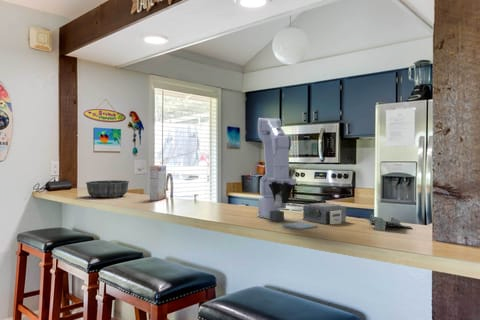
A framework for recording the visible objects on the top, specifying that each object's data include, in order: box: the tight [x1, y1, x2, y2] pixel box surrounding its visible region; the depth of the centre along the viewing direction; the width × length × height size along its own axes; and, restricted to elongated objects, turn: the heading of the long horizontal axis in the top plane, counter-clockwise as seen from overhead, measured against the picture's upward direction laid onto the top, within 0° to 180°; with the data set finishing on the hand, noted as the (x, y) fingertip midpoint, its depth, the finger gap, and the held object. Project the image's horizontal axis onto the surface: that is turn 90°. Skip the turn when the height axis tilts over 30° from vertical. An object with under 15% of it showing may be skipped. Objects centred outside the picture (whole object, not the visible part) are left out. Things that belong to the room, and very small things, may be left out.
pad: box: [282, 221, 318, 231], centre depth 134 cm, size 9×9×1 cm
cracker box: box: [149, 164, 167, 202], centre depth 220 cm, size 14×6×21 cm, turn 172°
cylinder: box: [275, 193, 287, 209], centre depth 138 cm, size 4×4×6 cm
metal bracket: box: [365, 214, 413, 232], centre depth 133 cm, size 14×6×15 cm
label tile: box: [329, 210, 342, 225], centre depth 141 cm, size 1×6×5 cm, turn 126°
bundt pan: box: [85, 179, 130, 198], centre depth 234 cm, size 26×26×10 cm
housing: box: [302, 202, 347, 225], centre depth 148 cm, size 12×13×7 cm
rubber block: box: [269, 210, 285, 223], centre depth 146 cm, size 4×4×4 cm
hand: (281, 202), depth 138 cm, fingers closed on cylinder, 4 cm apart
